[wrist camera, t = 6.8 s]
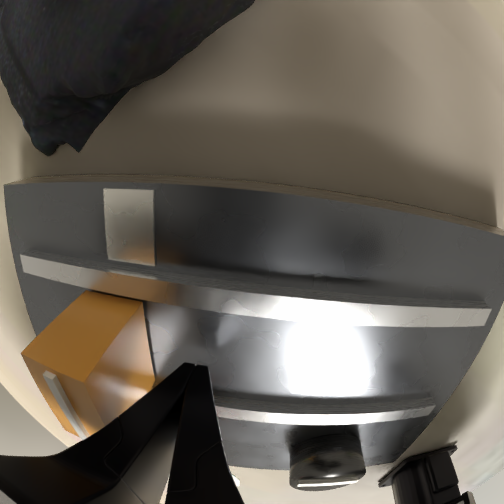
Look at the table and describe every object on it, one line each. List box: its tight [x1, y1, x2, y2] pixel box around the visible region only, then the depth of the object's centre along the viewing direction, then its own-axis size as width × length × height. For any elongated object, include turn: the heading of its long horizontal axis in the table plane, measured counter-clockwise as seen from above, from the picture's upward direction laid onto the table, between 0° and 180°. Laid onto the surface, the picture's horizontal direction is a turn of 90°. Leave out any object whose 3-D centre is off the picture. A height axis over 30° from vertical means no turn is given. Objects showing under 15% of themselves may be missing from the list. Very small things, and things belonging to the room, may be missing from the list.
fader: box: [21, 290, 155, 440], centre depth 8 cm, size 4×2×4 cm, turn 175°
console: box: [4, 174, 504, 491], centre depth 10 cm, size 16×22×4 cm
